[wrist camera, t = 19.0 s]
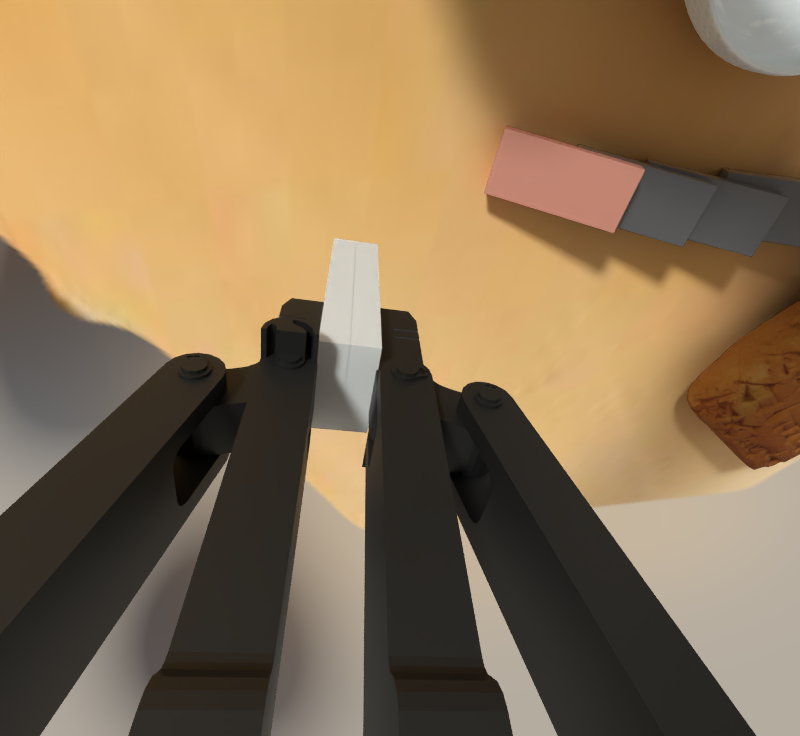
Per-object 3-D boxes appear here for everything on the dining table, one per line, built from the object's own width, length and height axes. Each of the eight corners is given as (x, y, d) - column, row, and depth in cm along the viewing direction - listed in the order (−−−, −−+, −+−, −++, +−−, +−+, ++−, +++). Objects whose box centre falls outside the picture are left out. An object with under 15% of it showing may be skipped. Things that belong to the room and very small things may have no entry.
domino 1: (504, 128, 37) (645, 169, 36) (506, 125, 39) (640, 165, 38) (483, 192, 40) (613, 233, 39) (486, 188, 41) (610, 226, 41)
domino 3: (651, 162, 39) (789, 198, 38) (647, 158, 41) (779, 192, 40) (623, 221, 42) (751, 256, 41) (620, 216, 44) (743, 249, 43)
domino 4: (729, 172, 40) (879, 192, 38) (722, 168, 42) (866, 187, 40) (702, 231, 43) (841, 253, 41) (697, 225, 44) (830, 246, 42)
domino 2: (579, 147, 38) (718, 186, 37) (577, 143, 40) (710, 181, 39) (554, 209, 41) (682, 247, 40) (554, 203, 43) (677, 240, 42)
